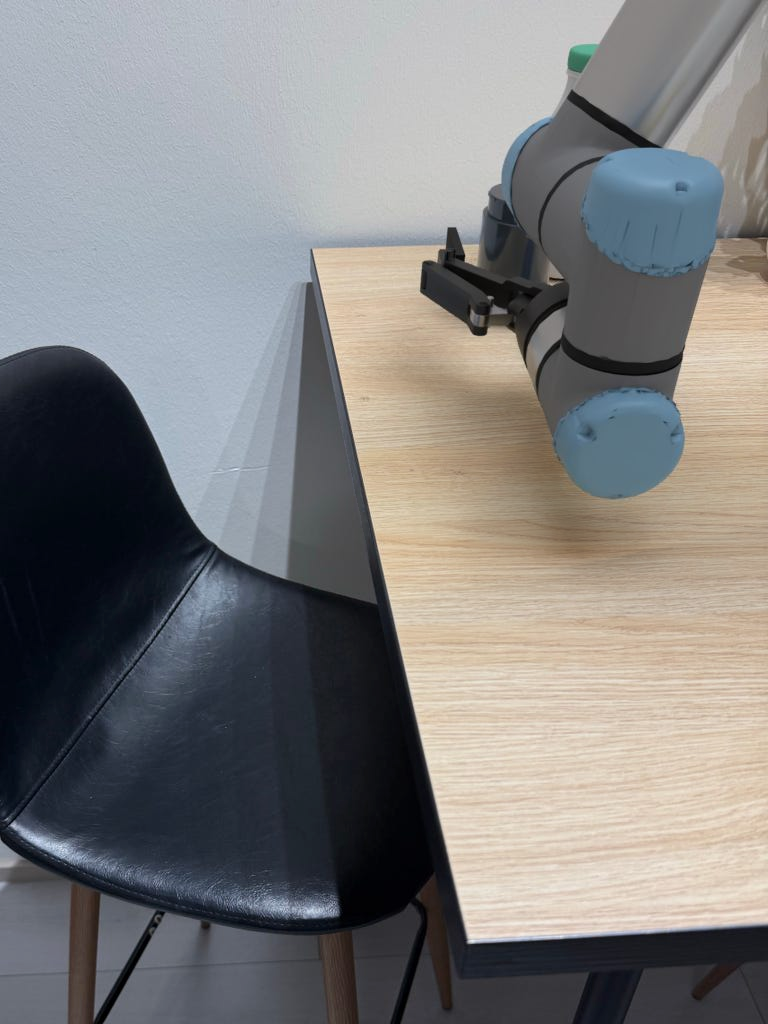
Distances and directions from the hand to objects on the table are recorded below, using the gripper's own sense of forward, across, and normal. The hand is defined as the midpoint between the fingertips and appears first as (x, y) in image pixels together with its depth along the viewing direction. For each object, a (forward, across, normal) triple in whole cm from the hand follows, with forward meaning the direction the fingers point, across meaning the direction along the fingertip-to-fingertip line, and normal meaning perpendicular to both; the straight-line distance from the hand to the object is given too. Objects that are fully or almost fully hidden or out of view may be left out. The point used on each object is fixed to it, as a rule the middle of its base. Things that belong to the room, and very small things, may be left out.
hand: (527, 242), depth 92 cm
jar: (+3, 0, -8) cm, 8 cm away
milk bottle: (+14, +7, -8) cm, 17 cm away
